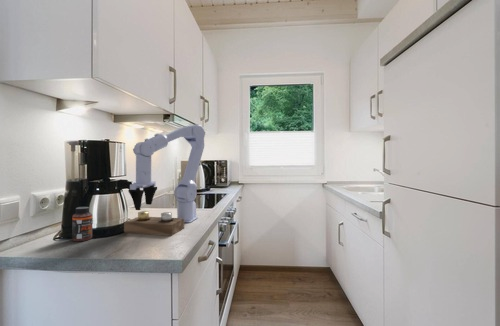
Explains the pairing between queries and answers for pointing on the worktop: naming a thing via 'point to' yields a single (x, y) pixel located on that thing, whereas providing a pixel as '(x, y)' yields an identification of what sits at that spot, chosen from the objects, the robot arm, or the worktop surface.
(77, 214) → the supplement bottle
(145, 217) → the brass peg
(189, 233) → the worktop surface
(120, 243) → the worktop surface
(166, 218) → the steel peg
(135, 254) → the worktop surface
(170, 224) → the walnut block
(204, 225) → the worktop surface
